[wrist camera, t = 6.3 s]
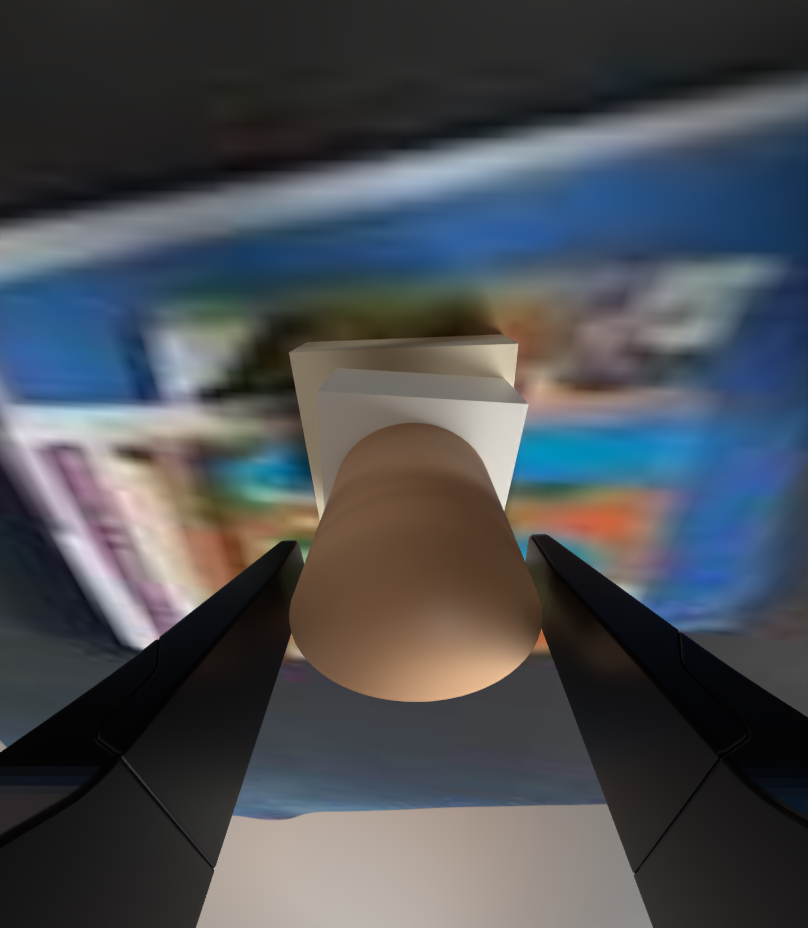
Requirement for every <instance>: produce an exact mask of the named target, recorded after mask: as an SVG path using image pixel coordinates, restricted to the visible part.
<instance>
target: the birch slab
mask: <svg viewBox="0 0 808 928" xmlns="http://www.w3.org/2000/svg"><path fill="white" fill-rule="evenodd" d="M517 351H518V343H516V342H515V341H513V340H511V339H510V338H508V337H506V336H505V335H503V334H499V335H474V336H448V337H423V338H398V339H373V340H348V341H323V342H306V343H304V344H303V345H301V346H299V347H297V348H296V349H294V350H292V351H290V352H289V356H290V361H291V367H292V372H293V377H294V383H295V388H296V394H297V399H298V404H299V410H300V415H301V421H302V426H303V431H304V437H305V442H306V448H307V453H308V458H309V464H310V469H311V475H312V480H313V485H314V491H315V496H316V502H317V507H318V512H319V518H320V520H321V517H322V515H323V512H324V496H323V480H322V463H321V446H320V430H319V413H318V397H317V391H318V390H319V389H320V387H321V386H322V385H323V384H324V383H325V382H326V381H327V379H328V378H329V377H330V376H331V375H332V374H333V373H334V371H335V370H336V369H337V368H346V369H363V370H379V371H395V372H412V373H428V374H444V375H461V376H477V377H493V378H505V379H506V381H507V382H508V383H509V384H510V385H511V386H512V387H513V388H514V380H515V370H516V361H517Z"/></svg>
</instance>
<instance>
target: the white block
mask: <svg viewBox="0 0 808 928" xmlns="http://www.w3.org/2000/svg"><path fill="white" fill-rule="evenodd" d="M317 397H318V413H319V430H320V446H321V463H322V480H323V496H324V509H325V506H326V504H327V501H328V498H329V495H330V493H331V490H332V487H333V485H334V482H335V479H336V476H337V474H338V471H339V468H340V466H341V463H342V462H343V460H344V458H345V457H346V455H347V454H348V453H349V451H350V450H351V449H352V448H353V447H354V446H355V445H356V444H357V443H358V442H359V441H360V440H362V439H363V438H365V437H366V436H367V435H369V434H371V433H373V432H375V431H377V430H379V429H382V428H385V427H388V426H392V425H396V424H403V423H423V424H430V425H434V426H438V427H441V428H444V429H446V430H449V431H451V432H453V433H455V434H456V435H458V436H460V437H461V438H463V439H464V440H465V441H466V442H468V443H469V444H470V445H471V446H472V447H473V448H474V449H475V450H476V452H477V453H478V454H479V456H480V457H481V459H482V461H483V463H484V465H485V467H486V469H487V471H488V474H489V476H490V479H491V481H492V484H493V486H494V488H495V491H496V493H497V496H498V498H499V500H500V503H501V505H502V508H503V510H505V506H506V501H507V497H508V492H509V488H510V484H511V479H512V475H513V470H514V466H515V462H516V457H517V453H518V448H519V444H520V440H521V435H522V431H523V426H524V422H525V418H526V413H527V409H528V405H529V404H528V403H527V402H526V401H525V400H524V399H523V398H522V397H521V395H520V394H519V393H518V392H517V391H516V390H515V389H514V388H513V387H512V386H511V385H510V384H509V383H508V382H507V381H506V379H505V378H493V377H477V376H461V375H444V374H428V373H412V372H395V371H379V370H363V369H346V368H337V369H336V370H335V371H334V373H333V374H332V375H331V376H330V377H329V378H328V379H327V381H326V382H325V383H324V384H323V385H322V386H321V387H320V389H319V390H318V391H317Z"/></svg>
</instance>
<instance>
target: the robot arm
mask: <svg viewBox="0 0 808 928" xmlns="http://www.w3.org/2000/svg"><path fill="white" fill-rule="evenodd" d="M526 565H527V568H528V570H529V573H530V575H531V577H532V580H533V582H534V585H535V587H536V589H537V592H538V595H539V598H540V601H541V605H542V615H543V617H542V627H541V628H542V631H543V633H544V636H545V639H546V642H547V644H548V647H549V650H550V652H551V655H552V658H553V660H554V663H555V666H556V668H557V671H558V674H559V676H560V679H561V682H562V684H563V687H564V690H565V692H566V695H567V698H568V700H569V703H570V706H571V708H572V711H573V714H574V717H575V719H576V722H577V725H578V727H579V730H580V733H581V735H582V738H583V741H584V743H585V746H586V749H587V751H588V754H589V757H590V759H591V762H592V765H593V767H594V770H595V773H596V775H597V778H598V781H599V783H600V786H601V789H602V791H603V794H604V797H605V799H606V802H607V805H608V807H609V810H610V812H611V815H612V818H613V821H614V823H615V826H616V829H617V831H618V834H619V837H620V840H621V842H622V845H623V847H624V850H625V853H626V855H627V858H628V861H629V863H630V866H631V869H632V871H633V872H634V873H635V875H634V878H635V880H636V883H637V886H638V888H639V891H640V894H641V896H642V899H643V902H644V904H645V907H646V910H647V912H648V915H649V917H650V920H651V923H652V926H653V928H808V717H806V716H805V715H803V714H802V713H800V712H799V711H797V710H795V709H794V708H792V707H791V706H789V705H788V704H786V703H785V702H783V701H781V700H780V699H778V698H777V697H775V696H774V695H772V694H771V693H769V692H767V691H766V690H764V689H763V688H761V687H760V686H758V685H757V684H755V683H754V682H752V681H751V680H749V679H748V678H746V677H745V676H743V675H742V674H740V673H739V672H737V671H736V670H734V669H733V668H731V667H730V666H728V665H727V664H725V663H724V662H723V661H721V660H720V659H718V658H717V657H716V656H714V655H713V654H711V653H710V652H708V651H707V650H706V649H704V648H703V647H701V646H700V645H699V644H697V643H696V642H694V641H693V640H692V639H690V638H689V637H688V636H686V635H685V634H683V633H681V632H680V633H679V632H678V629H676V628H675V627H674V626H672V625H671V624H669V623H668V622H667V621H665V620H664V619H663V618H661V617H660V616H658V615H657V614H656V613H654V612H653V611H652V610H650V609H649V608H647V607H646V606H645V605H643V604H642V603H641V602H639V601H638V600H636V599H635V598H634V597H632V596H631V595H630V594H628V593H627V592H625V591H624V590H623V589H621V588H620V587H619V586H617V585H616V584H614V583H613V582H612V581H610V580H609V579H608V578H606V577H605V576H603V575H602V574H601V573H599V572H598V571H597V570H595V569H594V568H592V567H591V566H590V565H588V564H587V563H586V562H584V561H583V560H581V559H580V558H579V557H577V556H576V555H575V554H573V553H572V552H570V551H569V550H568V549H566V548H565V547H564V546H562V545H561V544H560V543H558V542H557V541H555V540H554V539H553V538H551V537H550V536H548V535H546V534H537V535H531V536H530V537H529V540H528V547H527V554H526ZM303 567H304V561H303V557H302V553H301V549H300V545H299V543H298V542H297V541H295V540H293V541H281V542H280V543H278V544H277V545H276V546H275V547H273V548H272V549H271V550H269V551H268V552H267V553H266V554H264V555H263V556H262V557H261V558H259V559H258V560H257V561H255V562H254V563H253V564H252V565H250V566H249V567H248V568H247V569H245V570H244V571H243V572H242V573H240V574H239V575H238V576H236V577H235V578H234V579H233V580H231V581H230V582H229V583H228V584H226V585H225V586H224V587H222V588H221V589H220V590H219V591H217V592H216V593H215V594H214V595H212V596H211V597H210V598H209V599H207V600H206V601H205V602H203V603H202V604H201V605H200V606H198V607H197V608H196V609H195V610H193V611H192V612H191V613H189V614H188V615H187V616H186V617H184V618H183V619H182V620H181V621H179V622H178V623H177V624H176V625H174V626H173V627H172V628H170V629H169V630H168V631H167V632H165V633H164V634H163V635H162V636H160V638H159V640H155V641H154V642H152V643H151V644H150V645H149V646H147V647H146V648H145V649H144V650H142V651H141V652H140V653H139V654H137V655H136V656H135V657H133V658H132V659H131V660H129V661H128V662H127V663H125V664H124V665H123V666H121V667H120V668H119V669H118V670H116V671H115V672H114V673H112V674H111V675H110V676H108V677H107V678H105V679H104V680H103V681H101V682H100V683H98V684H97V685H96V686H94V687H93V688H91V689H90V690H89V691H87V692H86V693H84V694H83V695H82V696H80V697H79V698H77V699H76V700H75V701H73V702H72V703H70V704H69V705H67V706H66V707H65V708H63V709H62V710H60V711H59V712H57V713H56V714H55V715H53V716H52V717H50V718H49V719H47V720H46V721H45V722H43V723H42V724H40V725H39V726H37V727H36V728H35V729H33V730H32V731H30V732H29V733H27V734H26V735H25V736H23V737H22V738H20V739H19V740H17V741H16V742H14V743H13V744H12V745H10V746H9V747H7V748H6V749H4V750H3V751H2V752H0V928H196V925H197V922H198V919H199V916H200V913H201V910H202V907H203V904H204V901H205V898H206V895H207V892H208V889H209V886H210V882H211V879H212V876H213V873H214V869H213V868H214V867H215V866H216V863H217V860H218V857H219V854H220V851H221V848H222V845H223V842H224V839H225V835H226V832H227V829H228V826H229V823H230V820H231V817H232V814H233V811H234V808H235V805H236V802H237V799H238V796H239V792H240V789H241V786H242V783H243V780H244V777H245V774H246V771H247V768H248V765H249V762H250V759H251V756H252V752H253V749H254V746H255V743H256V740H257V737H258V734H259V731H260V728H261V725H262V722H263V719H264V716H265V712H266V709H267V706H268V703H269V700H270V697H271V694H272V691H273V688H274V685H275V682H276V679H277V676H278V672H279V669H280V666H281V663H282V660H283V657H284V654H285V651H286V648H287V645H288V642H289V639H290V635H291V628H290V623H289V610H290V605H291V600H292V597H293V594H294V591H295V588H296V586H297V583H298V580H299V578H300V575H301V572H302V569H303Z"/></svg>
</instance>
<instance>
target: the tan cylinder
mask: <svg viewBox="0 0 808 928" xmlns="http://www.w3.org/2000/svg"><path fill="white" fill-rule="evenodd" d="M542 617H543V615H542V605H541V601H540V598H539V595H538V592H537V589H536V587H535V585H534V582H533V580H532V577H531V575H530V573H529V570H528V568H527V565H526V563H525V561H524V558H523V556H522V553H521V551H520V549H519V546H518V544H517V541H516V539H515V536H514V534H513V532H512V529H511V527H510V524H509V522H508V520H507V517H506V515H505V512H504V510H503V508H502V505H501V503H500V500H499V498H498V496H497V493H496V491H495V488H494V486H493V484H492V481H491V479H490V476H489V474H488V471H487V469H486V467H485V465H484V463H483V461H482V459H481V457H480V456H479V454H478V453H477V452H476V450H475V449H474V448H473V447H472V446H471V445H470V444H469V443H468V442H466V441H465V440H464V439H463V438H461V437H460V436H458V435H456V434H455V433H453V432H451V431H449V430H446V429H444V428H441V427H438V426H434V425H430V424H423V423H403V424H396V425H392V426H388V427H385V428H382V429H379V430H377V431H375V432H373V433H371V434H369V435H367V436H366V437H365V438H363V439H362V440H360V441H359V442H358V443H357V444H356V445H355V446H354V447H353V448H352V449H351V450H350V451H349V453H348V454H347V455H346V457H345V458H344V460H343V462H342V463H341V466H340V468H339V471H338V474H337V476H336V479H335V482H334V485H333V487H332V490H331V493H330V495H329V498H328V501H327V504H326V506H325V509H324V512H323V515H322V517H321V520H320V523H319V526H318V528H317V531H316V534H315V537H314V539H313V542H312V545H311V547H310V550H309V553H308V556H307V558H306V561H305V564H304V567H303V569H302V572H301V575H300V578H299V580H298V583H297V586H296V588H295V591H294V594H293V597H292V600H291V605H290V610H289V623H290V628H291V633H292V635H293V638H294V641H295V643H296V645H297V647H298V648H299V650H300V652H301V653H302V654H303V656H304V657H305V658H306V659H307V661H308V662H309V663H310V664H311V665H312V666H313V667H315V668H316V669H317V670H318V671H319V672H321V673H322V674H323V675H325V676H326V677H327V678H329V679H331V680H332V681H334V682H336V683H338V684H339V685H342V686H344V687H346V688H348V689H350V690H353V691H356V692H359V693H362V694H365V695H369V696H372V697H376V698H382V699H387V700H395V701H407V702H423V701H436V700H444V699H450V698H455V697H459V696H463V695H466V694H470V693H473V692H476V691H478V690H481V689H483V688H486V687H488V686H490V685H492V684H494V683H496V682H498V681H499V680H501V679H502V678H504V677H505V676H507V675H508V674H510V673H511V672H512V671H513V670H515V669H516V668H517V667H518V666H519V665H520V664H521V663H522V662H523V661H524V660H525V659H526V658H527V656H528V655H529V653H530V652H531V651H532V649H533V648H534V646H535V644H536V642H537V640H538V637H539V634H540V631H541V627H542Z"/></svg>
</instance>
